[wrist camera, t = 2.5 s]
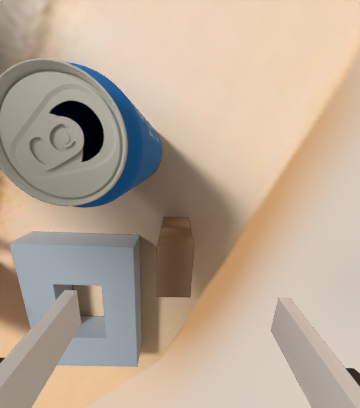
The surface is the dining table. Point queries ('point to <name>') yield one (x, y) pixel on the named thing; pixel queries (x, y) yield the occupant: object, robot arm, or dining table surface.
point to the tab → (174, 258)
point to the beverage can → (72, 134)
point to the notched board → (86, 275)
